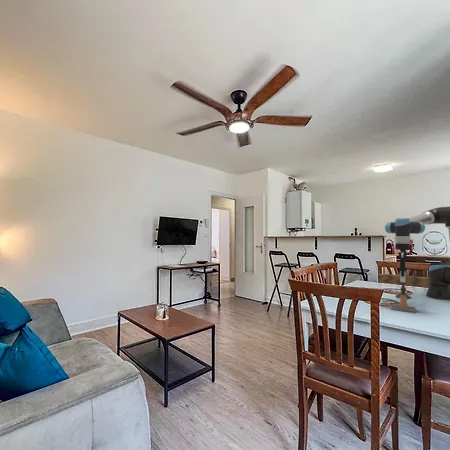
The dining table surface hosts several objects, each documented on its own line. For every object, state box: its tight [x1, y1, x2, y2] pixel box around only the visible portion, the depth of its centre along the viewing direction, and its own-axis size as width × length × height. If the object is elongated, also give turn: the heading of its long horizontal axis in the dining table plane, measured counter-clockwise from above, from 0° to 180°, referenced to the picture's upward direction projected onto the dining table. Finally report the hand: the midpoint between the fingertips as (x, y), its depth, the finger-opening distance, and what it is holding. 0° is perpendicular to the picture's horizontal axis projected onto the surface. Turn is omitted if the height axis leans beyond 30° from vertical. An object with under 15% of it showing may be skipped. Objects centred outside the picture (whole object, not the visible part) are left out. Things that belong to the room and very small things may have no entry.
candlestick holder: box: [395, 285, 412, 300], centre depth 193 cm, size 9×9×30 cm
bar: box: [377, 273, 430, 288], centre depth 163 cm, size 26×5×5 cm, turn 54°
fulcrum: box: [390, 295, 416, 314], centre depth 163 cm, size 12×12×8 cm
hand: (402, 281), depth 163 cm, fingers closed on bar, 5 cm apart
